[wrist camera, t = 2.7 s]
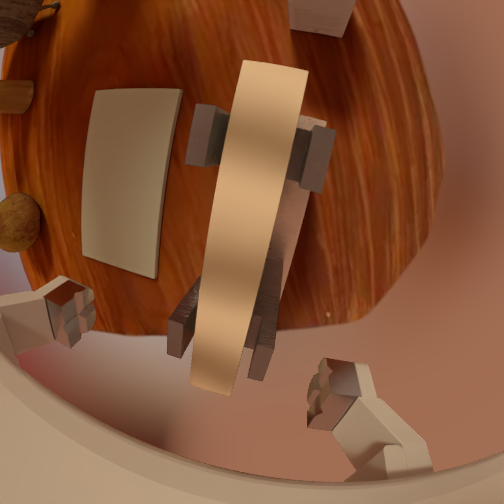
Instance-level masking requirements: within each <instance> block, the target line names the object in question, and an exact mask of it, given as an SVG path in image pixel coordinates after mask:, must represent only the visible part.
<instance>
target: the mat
mask: <svg viewBox="0 0 504 504" xmlns="http://www.w3.org/2000/svg"><path fill="white" fill-rule="evenodd" d="M182 94H183V90H181V89H167V88H129V89H108V90H96V91H95V96H94V101H93V105H92V111H91V116H90V122H89V128H88V135H87V142H86V150H85V159H84V170H83V185H82V212H81V230H82V255H84V256H87V257H90V258H92V259H95V260H98V261H101V262H104V263H107V264H110V265H113V266H116V267H119V268H122V269H125V270H128V271H131V272H134V273H137V274H140V275H143V276H146V277H149V278H153V279H155V278H156V277H157V272H158V256H159V243H160V231H161V221H162V212H163V203H164V195H165V187H166V180H167V173H168V166H169V160H170V154H171V148H172V142H173V137H174V132H175V126H176V121H177V116H178V112H179V107H180V102H181V98H182Z"/></svg>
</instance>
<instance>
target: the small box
mask: <svg viewBox="0 0 504 504" xmlns="http://www.w3.org/2000/svg"><path fill="white" fill-rule="evenodd" d="M287 2H288V15H289V27H290V29H292V30H300V31H307V32H314V33H320V34H325V35H330V36H335V37H340V38H342V36H343V34H344V31H345V29H346V26H347V24H348V21H349V18H350V16H351V13H352V11H353V8H354V5H355V3H356V0H287Z"/></svg>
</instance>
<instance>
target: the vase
mask: <svg viewBox="0 0 504 504" xmlns="http://www.w3.org/2000/svg"><path fill="white" fill-rule="evenodd" d="M33 95H34V83H33V81H32V80H0V113H4V114H23V113H24V112H26V110H27V109H28V108H29V106H30V104H31V102H32V99H33Z"/></svg>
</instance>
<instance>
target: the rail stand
mask: <svg viewBox="0 0 504 504" xmlns="http://www.w3.org/2000/svg"><path fill="white" fill-rule="evenodd" d="M229 119H230V114H229V113H227V112H226V111H224V110H222V109H221V108H219V107H218V106H215V105H206V104H196V107H195V111H194V116H193V121H192V126H191V131H190V136H189V141H188V146H187V152H186V157H185V163H184V164H188V165H194V166H199V167H209V166H216V165H220V163H221V158H222V153H223V148H224V143H225V138H226V133H227V129H228V124H229ZM335 135H336V130H333V129H330V128H326V121H323V120H319V119H315V118H311V117H307V116H303V115H299V120H298V125H297V129H296V133H295V138H294V142H293V147H292V151H291V156H290V160H289V164H288V169H287V173H286V177H285V182H284V186H283V190H282V195H281V199H280V203H279V207H278V211H277V216H276V220H275V224H274V228H273V232H272V236H271V241H270V245H269V249H268V253H267V257H266V261H265V265H264V269H263V273H262V277H261V281H260V285H259V289H258V293H257V297H256V301H255V305H254V309H253V313H252V317H251V321H250V325H249V329H248V333H247V336H246V340H245V344H244V347H247V348H251V349H254V351H253V356H252V360H251V364H250V369H249V373H248V378H251V379H254V380H259V381H263V378H264V376H265V373H266V370H267V367H268V365H269V362H270V359H271V356H272V354H273V351H274V346H275V337H276V330H277V321H278V312H279V303H280V299H281V296H282V293H283V289H284V286H285V282H286V279H287V276H288V272H289V269H290V265H291V262H292V258H293V254H294V251H295V247H296V244H297V240H298V236H299V233H300V229H301V225H302V221H303V218H304V214H305V210H306V206H307V202H308V198H309V194H310V191H313V192H317V193H320V194H321V193H322V189H323V185H324V181H325V177H326V173H327V169H328V165H329V161H330V156H331V152H332V148H333V143H334V139H335ZM201 278H202V274H201V275H200V276H199V278H198V279H197V280H196V282H195V283H194V285H193V286H192V287H191V289H190V290H189V291H188V293H187V294H186V295H185V297H184V298H183V299H182V301H181V302H180V304H179V305H178V306H177V308H176V309H175V310H174V312H173V313H172V315H171V316H170V317H169V319H168V333H167V354H168V355H171V356H174V357H177V358H182V355H183V354H184V352H185V350H186V348H187V346H188V345H189V343H190V341H191V339H192V337H193V335H194V333H195V325H196V317H197V309H198V301H199V293H200V285H201Z"/></svg>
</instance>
